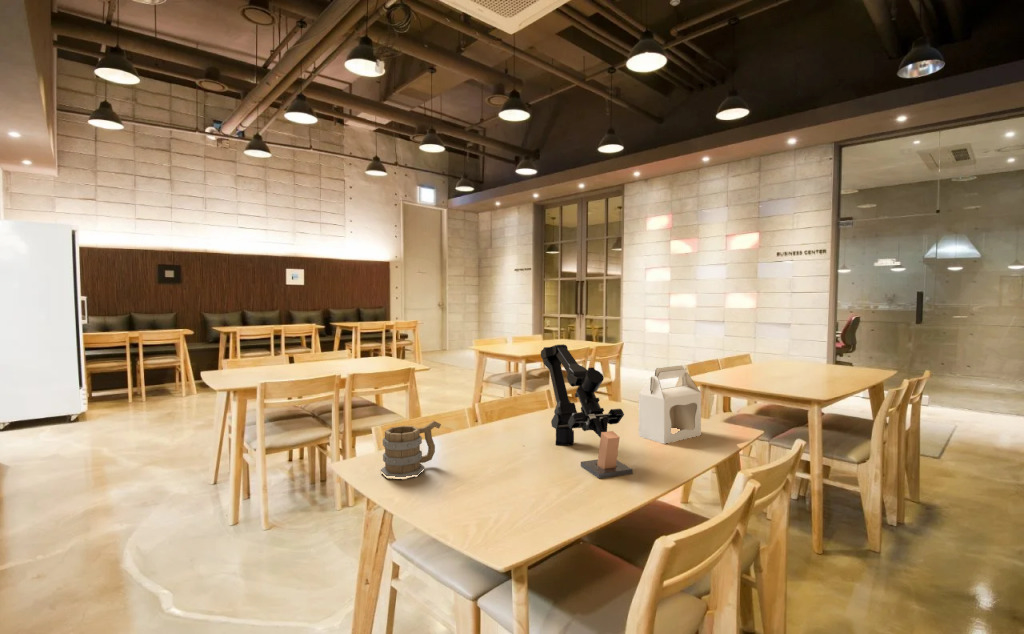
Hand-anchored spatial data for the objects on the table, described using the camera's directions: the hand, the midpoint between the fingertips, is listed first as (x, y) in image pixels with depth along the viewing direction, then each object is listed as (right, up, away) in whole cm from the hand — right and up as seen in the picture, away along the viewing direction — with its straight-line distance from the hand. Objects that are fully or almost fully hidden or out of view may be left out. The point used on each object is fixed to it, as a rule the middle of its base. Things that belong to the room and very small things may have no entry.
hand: (605, 440), depth 154 cm
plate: (0, -9, 0) cm, 9 cm away
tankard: (-62, -10, +1) cm, 63 cm away
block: (0, -9, 0) cm, 9 cm away
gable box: (+33, -8, +38) cm, 51 cm away
